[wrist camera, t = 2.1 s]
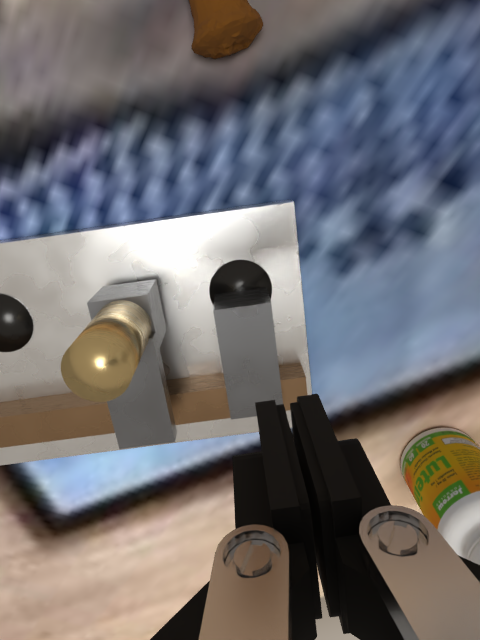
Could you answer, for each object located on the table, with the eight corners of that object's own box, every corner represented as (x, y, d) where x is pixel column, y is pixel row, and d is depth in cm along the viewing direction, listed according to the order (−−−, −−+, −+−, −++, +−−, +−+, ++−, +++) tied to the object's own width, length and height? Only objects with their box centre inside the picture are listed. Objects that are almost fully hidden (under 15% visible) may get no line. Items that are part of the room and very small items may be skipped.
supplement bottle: (416, 416, 31) (494, 525, 22) (488, 434, 32) (593, 547, 23) (387, 480, 33) (447, 605, 24) (455, 496, 33) (540, 624, 24)
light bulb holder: (157, 277, 26) (125, 330, 18) (182, 402, 28) (164, 497, 20) (104, 284, 26) (49, 341, 18) (134, 408, 28) (98, 505, 20)
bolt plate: (290, 199, 26) (302, 207, 22) (310, 412, 31) (323, 453, 27) (-136, 259, 27) (-205, 279, 23) (-53, 459, 31) (-97, 506, 27)
